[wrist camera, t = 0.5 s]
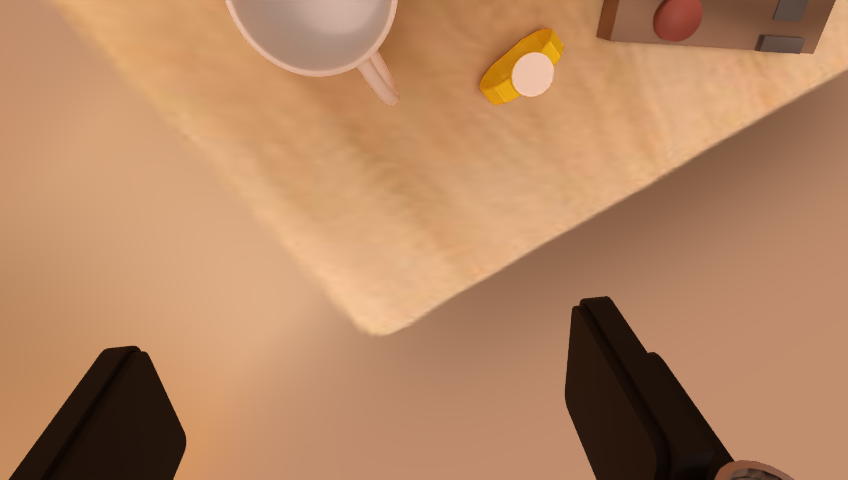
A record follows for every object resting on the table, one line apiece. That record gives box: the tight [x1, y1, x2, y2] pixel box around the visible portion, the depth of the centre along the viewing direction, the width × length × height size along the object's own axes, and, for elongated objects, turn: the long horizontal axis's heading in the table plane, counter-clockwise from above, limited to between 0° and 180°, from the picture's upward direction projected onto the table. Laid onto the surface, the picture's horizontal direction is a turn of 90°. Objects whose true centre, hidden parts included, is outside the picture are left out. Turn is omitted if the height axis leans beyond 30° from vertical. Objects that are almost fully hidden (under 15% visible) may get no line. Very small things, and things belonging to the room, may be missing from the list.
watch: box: [479, 28, 564, 105], centre depth 34 cm, size 6×3×6 cm, turn 131°
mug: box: [225, 0, 400, 106], centre depth 29 cm, size 12×8×12 cm
